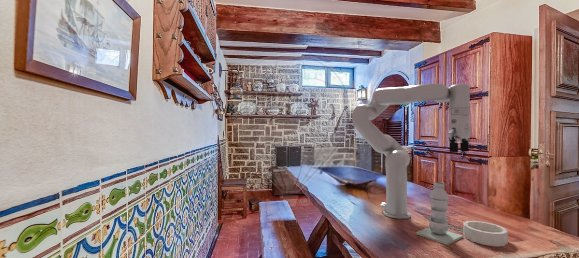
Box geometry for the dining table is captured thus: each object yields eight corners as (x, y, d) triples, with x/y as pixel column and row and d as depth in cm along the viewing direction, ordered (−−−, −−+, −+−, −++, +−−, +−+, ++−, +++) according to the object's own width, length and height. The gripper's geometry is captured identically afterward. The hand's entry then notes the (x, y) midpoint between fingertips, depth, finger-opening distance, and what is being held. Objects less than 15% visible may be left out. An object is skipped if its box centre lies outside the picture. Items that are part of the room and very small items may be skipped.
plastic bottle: (425, 230, 108) (425, 181, 108) (441, 230, 108) (441, 181, 108) (435, 236, 101) (435, 184, 101) (452, 236, 102) (452, 184, 102)
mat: (415, 234, 106) (415, 232, 106) (431, 228, 113) (431, 226, 113) (447, 245, 96) (447, 242, 96) (462, 237, 103) (462, 235, 103)
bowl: (457, 236, 104) (457, 225, 104) (472, 229, 111) (472, 218, 111) (498, 249, 93) (498, 236, 93) (512, 240, 100) (512, 228, 100)
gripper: (459, 111, 108) (459, 153, 108) (477, 113, 118) (477, 151, 118) (440, 112, 114) (440, 152, 114) (459, 113, 124) (459, 150, 124)
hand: (459, 151), depth 116 cm, fingers open, 9 cm apart
